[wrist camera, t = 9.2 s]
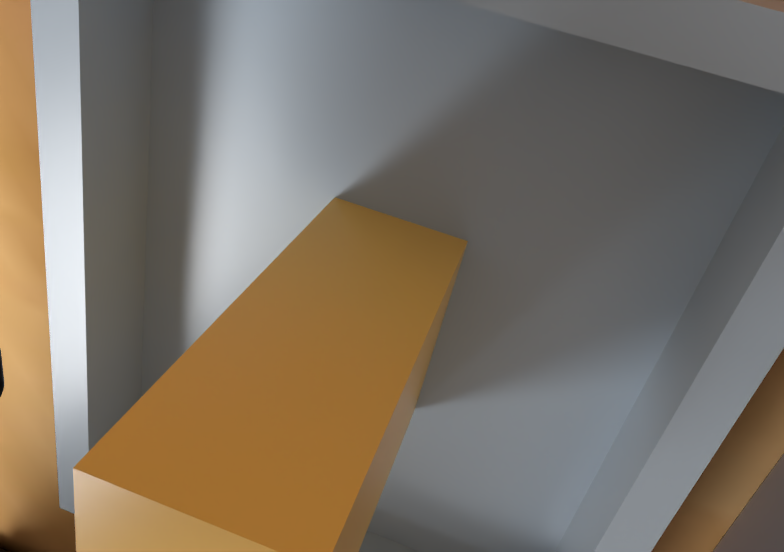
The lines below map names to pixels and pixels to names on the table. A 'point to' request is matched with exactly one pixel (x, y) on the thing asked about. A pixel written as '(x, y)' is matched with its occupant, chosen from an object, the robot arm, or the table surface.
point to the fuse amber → (280, 401)
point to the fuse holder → (760, 519)
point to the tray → (438, 228)
